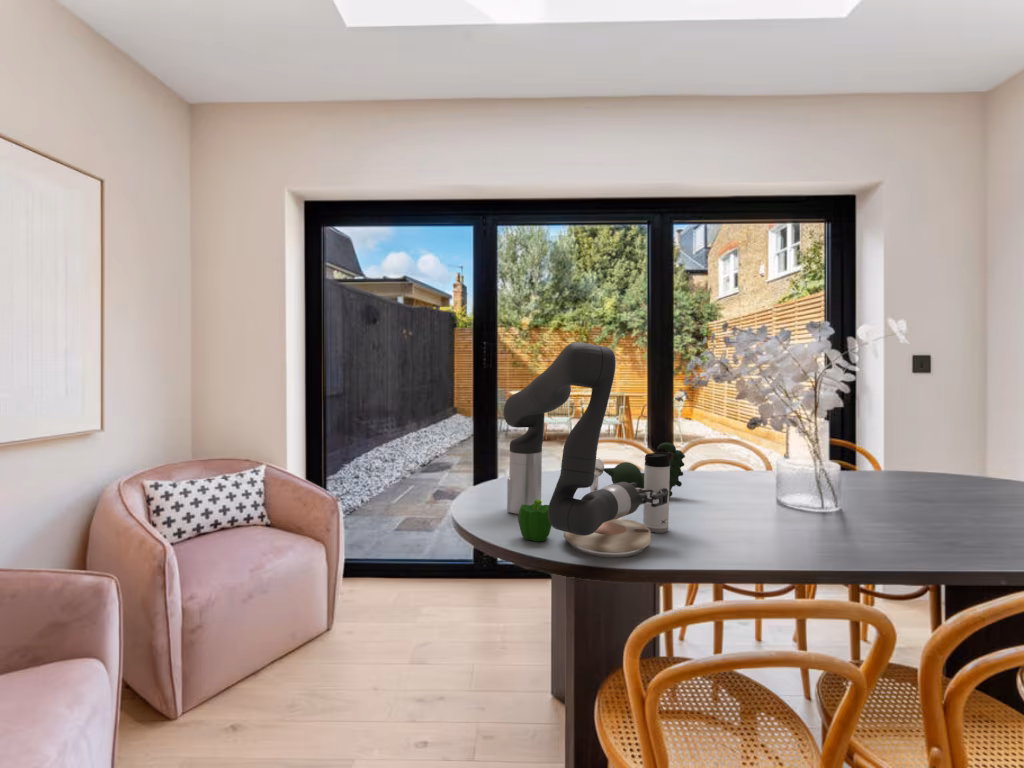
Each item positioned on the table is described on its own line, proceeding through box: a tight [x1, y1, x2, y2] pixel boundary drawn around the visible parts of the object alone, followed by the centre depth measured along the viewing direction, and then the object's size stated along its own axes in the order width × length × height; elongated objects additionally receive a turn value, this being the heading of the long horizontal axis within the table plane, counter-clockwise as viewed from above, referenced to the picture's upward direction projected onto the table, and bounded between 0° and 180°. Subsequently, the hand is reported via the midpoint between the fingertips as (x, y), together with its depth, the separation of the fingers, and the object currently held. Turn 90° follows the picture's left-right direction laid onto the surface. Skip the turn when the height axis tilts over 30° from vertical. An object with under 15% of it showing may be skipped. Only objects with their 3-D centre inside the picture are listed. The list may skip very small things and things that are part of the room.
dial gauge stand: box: [589, 457, 605, 493], centre depth 141 cm, size 6×8×18 cm
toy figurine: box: [603, 442, 686, 498], centre depth 171 cm, size 9×19×25 cm
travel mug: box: [642, 451, 672, 534], centre depth 138 cm, size 6×7×20 cm
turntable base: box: [569, 542, 644, 559], centre depth 127 cm, size 17×17×1 cm
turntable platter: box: [563, 517, 652, 552], centre depth 126 cm, size 20×20×2 cm
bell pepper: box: [517, 499, 552, 542], centre depth 130 cm, size 8×8×10 cm
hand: (650, 489), depth 135 cm, fingers open, 8 cm apart
